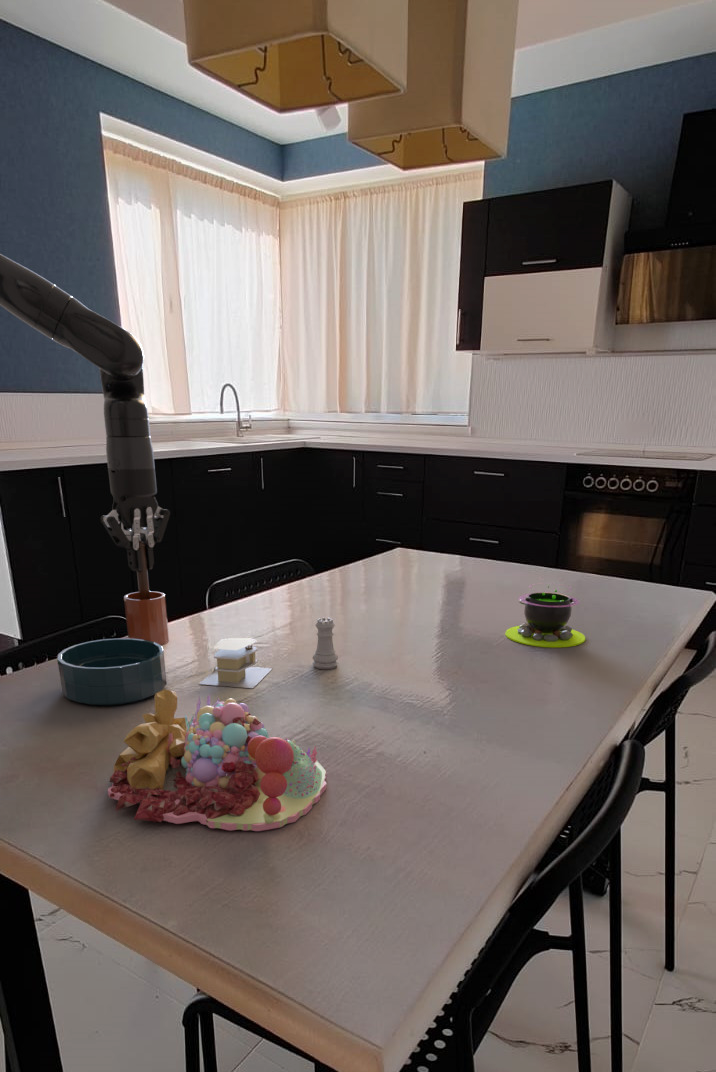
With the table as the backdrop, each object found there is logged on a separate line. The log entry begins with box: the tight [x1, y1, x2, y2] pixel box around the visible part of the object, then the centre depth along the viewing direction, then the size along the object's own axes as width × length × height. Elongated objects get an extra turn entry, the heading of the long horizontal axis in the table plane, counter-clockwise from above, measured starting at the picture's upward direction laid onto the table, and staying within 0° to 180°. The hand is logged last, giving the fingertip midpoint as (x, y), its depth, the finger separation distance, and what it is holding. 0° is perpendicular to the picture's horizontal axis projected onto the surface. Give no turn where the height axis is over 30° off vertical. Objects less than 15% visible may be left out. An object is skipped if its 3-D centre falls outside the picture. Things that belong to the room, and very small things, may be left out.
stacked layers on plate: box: [198, 637, 273, 689], centre depth 123 cm, size 10×9×6 cm
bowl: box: [56, 637, 168, 706], centre depth 117 cm, size 15×15×6 cm
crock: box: [123, 590, 170, 646], centre depth 138 cm, size 7×7×9 cm
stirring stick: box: [136, 541, 150, 600], centre depth 136 cm, size 3×2×18 cm, turn 54°
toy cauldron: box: [505, 576, 586, 649], centre depth 145 cm, size 15×15×11 cm
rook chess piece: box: [311, 617, 339, 670], centre depth 128 cm, size 4×4×8 cm
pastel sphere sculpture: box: [107, 688, 327, 832], centre depth 88 cm, size 25×24×9 cm
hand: (141, 569), depth 135 cm, fingers closed on stirring stick, 2 cm apart
